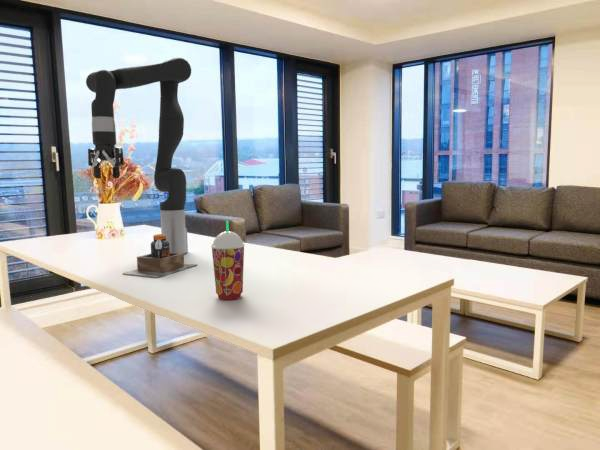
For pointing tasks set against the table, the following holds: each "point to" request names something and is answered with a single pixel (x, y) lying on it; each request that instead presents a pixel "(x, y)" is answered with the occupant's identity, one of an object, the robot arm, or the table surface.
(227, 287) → the smoothie
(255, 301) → the table surface
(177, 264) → the well
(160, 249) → the pill bottle
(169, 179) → the robot arm
